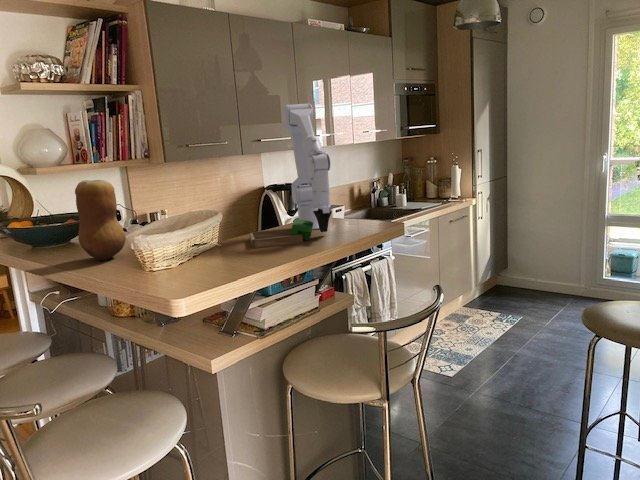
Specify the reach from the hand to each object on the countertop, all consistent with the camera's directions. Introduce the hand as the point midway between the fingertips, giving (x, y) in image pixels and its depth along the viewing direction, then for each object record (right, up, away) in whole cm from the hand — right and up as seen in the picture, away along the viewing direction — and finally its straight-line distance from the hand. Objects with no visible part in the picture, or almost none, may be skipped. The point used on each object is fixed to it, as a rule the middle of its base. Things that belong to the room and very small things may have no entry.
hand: (323, 231), depth 173 cm
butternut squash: (-69, -9, -9) cm, 70 cm away
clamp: (-7, -3, -2) cm, 8 cm away
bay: (-16, -3, -2) cm, 16 cm away
